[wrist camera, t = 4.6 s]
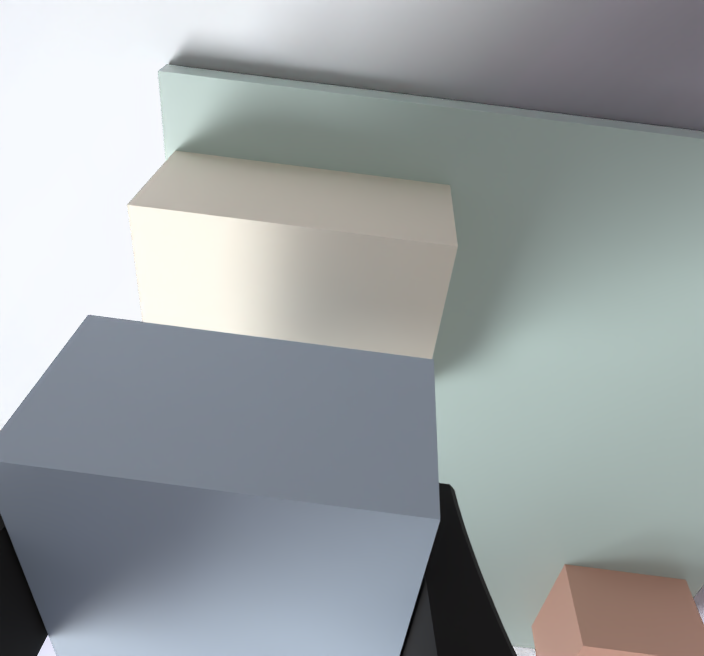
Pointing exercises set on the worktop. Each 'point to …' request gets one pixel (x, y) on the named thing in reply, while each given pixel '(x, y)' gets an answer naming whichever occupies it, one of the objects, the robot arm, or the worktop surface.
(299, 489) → the brick
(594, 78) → the worktop surface
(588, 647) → the brick
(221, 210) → the brick
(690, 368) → the baseplate
